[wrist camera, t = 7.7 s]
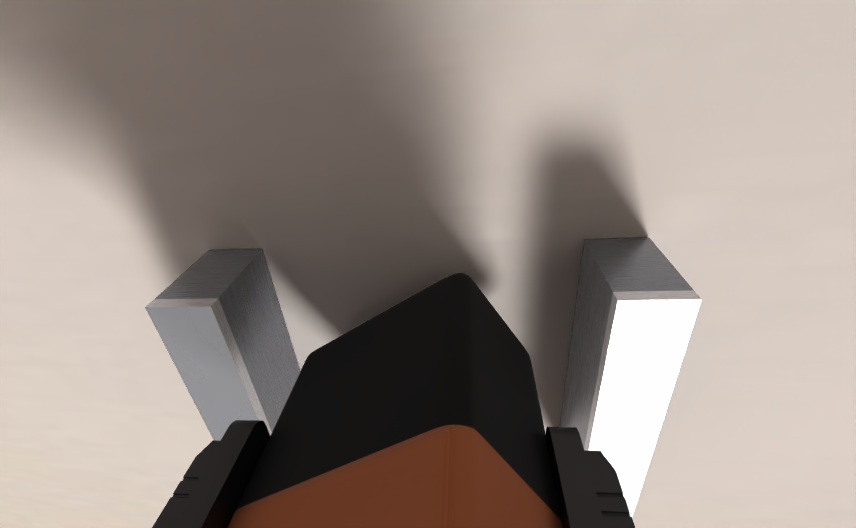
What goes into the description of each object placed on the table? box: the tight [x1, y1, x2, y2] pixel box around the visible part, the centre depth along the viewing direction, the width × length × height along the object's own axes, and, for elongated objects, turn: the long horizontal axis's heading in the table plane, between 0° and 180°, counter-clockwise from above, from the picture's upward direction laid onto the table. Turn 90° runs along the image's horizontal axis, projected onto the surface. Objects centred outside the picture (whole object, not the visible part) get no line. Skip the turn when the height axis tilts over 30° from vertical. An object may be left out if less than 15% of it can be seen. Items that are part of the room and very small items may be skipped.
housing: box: [145, 238, 701, 517], centre depth 15 cm, size 10×15×3 cm, turn 94°
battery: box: [228, 273, 563, 528], centre depth 10 cm, size 4×7×10 cm, turn 125°
